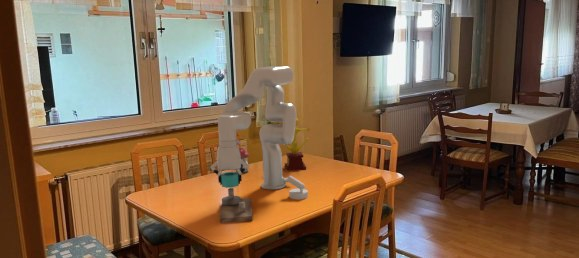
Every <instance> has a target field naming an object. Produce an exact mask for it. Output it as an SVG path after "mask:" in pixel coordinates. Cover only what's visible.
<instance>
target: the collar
mask: <svg viewBox="0 0 579 258" xmlns="http://www.w3.org/2000/svg"><path fill="white" fill-rule="evenodd" d="M221 180H222V185H221V187H222V188H226V189H227V188H228V189H229V188H236V187H239V185H240V184H239V183H238V173H237V172H236V171H225V172H223V173H222V172H221Z"/></svg>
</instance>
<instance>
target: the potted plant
mask: <svg viewBox="0 0 579 258" xmlns="http://www.w3.org/2000/svg"><path fill="white" fill-rule="evenodd" d="M299 122H300V121H299V118H298V117H296V126H295V134H294V139H293V141H292V143H291V145H292V146H289V145H284V146H285V147H286V148H287V149H288V150H289V151H290V152H286V157H287V159H286V162H285V163H284V168H285V170H286V171H288V172H289V171H291V172H292V171H302V170H303V171H304V170H307V166H306V164H305V162H304V161H303V158H304V154H303V152H302V151H301V149H302V148H303V147H304V145H305V143H306V142H307V141H309V138H308V137H307V138H305V140H304V141H303V142H302V143H301V144H300V145H299V146H298V141H296V138H297V135H298V133H299V132H300V131H307V132H310V126H307V128H298V127H297V126H298V125H299Z"/></svg>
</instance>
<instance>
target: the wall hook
mask: <svg viewBox="0 0 579 258" xmlns="http://www.w3.org/2000/svg"><path fill="white" fill-rule="evenodd" d="M286 178H287V181H288V182H287V183H289V184H291V185H292V186H294V187H296V188H292V189H290V190H289V192H288V193H289V198H290V199H292V200H305V199H308V197H309V194H308V193H309V191H308V190H307V189H305V188H306V185H305V183H304V182H302V181H300V180H298V179H297V178H296V177H294V176H292V175H289V176H288V177H286Z"/></svg>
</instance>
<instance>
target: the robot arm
mask: <svg viewBox="0 0 579 258" xmlns="http://www.w3.org/2000/svg"><path fill="white" fill-rule="evenodd" d="M294 76H295V75H294V71H293V68H291V66H286V65H285V66H284V65H282V66H279V65H278V66H276V65H275V66H271V65H270V66H264V67H256V68H255V69H253V70H252V72H251V73H250V75H249V76H248V79H247V81H246V83H245V84H244V86H243V89H242V91H240V92H239V93H238V94H237V95H236V94H235V96H233V97H232V98H231V99H230V100H229V101H228V102H227V103H226V104H225V105H224V108H223V109H222V111H221V113H220V115H219V116H218V117H217V128H218V129H217V130H218V143H219V144H218V146H217V152H216V161H214V163H213V164H211V165H210V166H209V167H210V170H211V171H212V172H213V173H214V174H216V176H217V178H218V184H219V185H220V186H222V180H221V174H222V172H223V171H233V170H234V171H236V170H237V171H238V183H239V185H240V184H241V182H242V175H243V174H242V173H243V172H244V171H245V169H246V168H247V167H248V165H249V163H248V164H247V163H245V162H244V161H243V160H241V156H240V149H239V148H240V146H239V145H240V144H241V139H240V140H238V139H237V131H243V130H244V131H245V130H246V129H248V128H249V127H250V126H251V124H252V118H251V116H250V115H249V114H248V113H246V112H239V111H240V110H241V109H243V108H245V107H249V106H251V105H253V104H255V103H257V102H258V101H259V100H260V98H261V96H262V94H263V91H264V89H265V88H266V91H267V94H266V95H267V96H266V105H265V111H264V112H265V119H266V120H267V121H269V122H273V123H269V124H264V125H262V126H261V127H260V129H259V139H260V142H261V143H260V144H261V150H262V151H261V152H262V170H263V171H262V172H263V182H261V183H260V187H261V189H264V190H270V191H271V190H273V191H274V190H280V189H283V188H286V186H287V183H289V182H288V181H287V178H288V177H284V176H283V158H282V155H283V154H282V149H281V146H280V145H283V146H285V145H288V146H289V145H290V144H291V145H292V141H293V139H294V134H295V128H296V127H297V126H296V117H297V116H298V115H297V109H296V106H295V105H294V104H292V103H291V102H290V103H288V102H285V91H284V89H283V87H282V86H284V85H289V84H291V83H292V81H294ZM297 118H298V117H297ZM276 122H277V123H282V124H274V123H276ZM238 144H239V145H238ZM241 164H243V165H244V167H243V168H242V169H240V168H241ZM216 167H217V168H216ZM248 168H249V167H248Z"/></svg>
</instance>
